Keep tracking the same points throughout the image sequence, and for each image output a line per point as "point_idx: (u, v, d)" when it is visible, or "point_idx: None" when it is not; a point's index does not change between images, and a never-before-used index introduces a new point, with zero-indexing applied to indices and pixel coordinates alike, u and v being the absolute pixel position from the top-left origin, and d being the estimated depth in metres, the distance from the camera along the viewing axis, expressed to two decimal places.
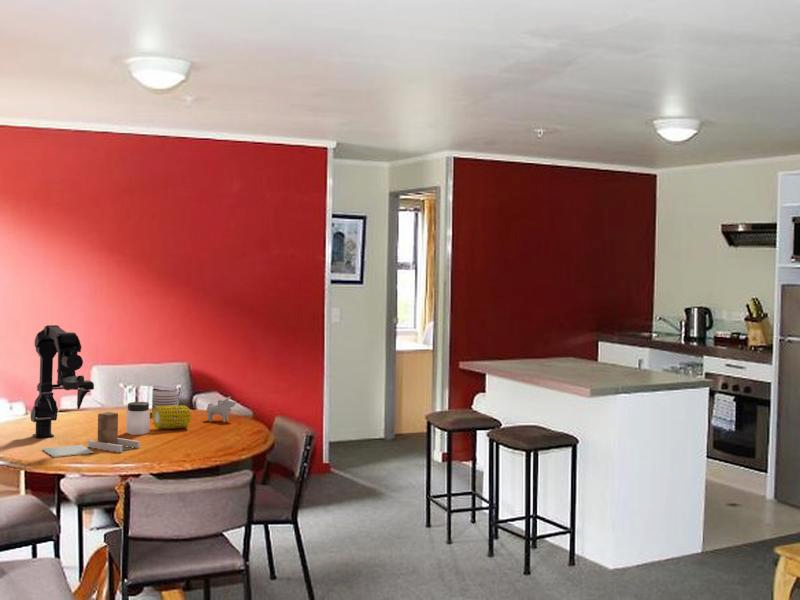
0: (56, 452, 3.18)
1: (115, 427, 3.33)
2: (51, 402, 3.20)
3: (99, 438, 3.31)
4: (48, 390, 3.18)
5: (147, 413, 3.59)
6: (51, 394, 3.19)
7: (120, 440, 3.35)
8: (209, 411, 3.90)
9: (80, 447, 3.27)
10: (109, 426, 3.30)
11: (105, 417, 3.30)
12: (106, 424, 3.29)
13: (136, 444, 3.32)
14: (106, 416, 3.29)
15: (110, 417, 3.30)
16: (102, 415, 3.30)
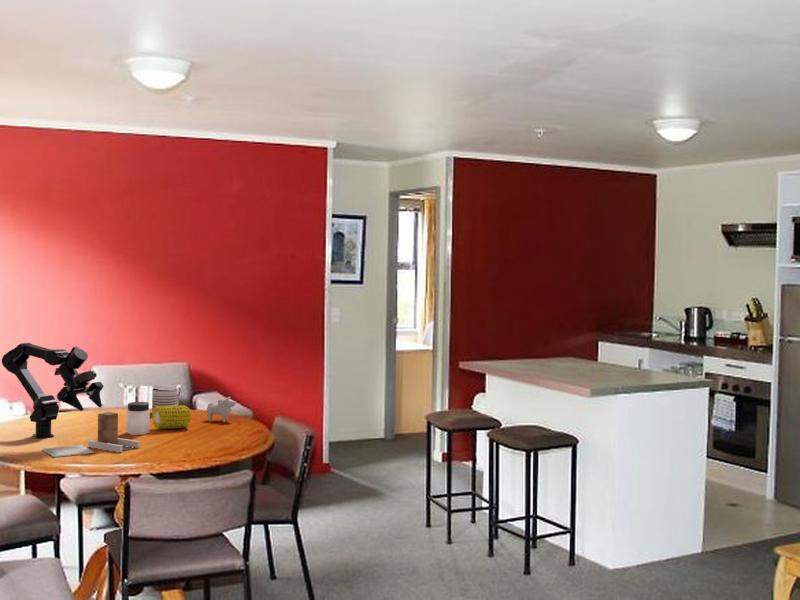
0: (56, 452, 3.18)
1: (115, 427, 3.33)
2: (78, 401, 3.32)
3: (99, 438, 3.31)
4: (71, 389, 3.31)
5: (147, 413, 3.59)
6: (75, 392, 3.32)
7: (120, 440, 3.35)
8: (209, 411, 3.90)
9: (80, 447, 3.27)
10: (109, 426, 3.30)
11: (105, 417, 3.30)
12: (106, 424, 3.29)
13: (136, 444, 3.32)
14: (106, 416, 3.29)
15: (110, 417, 3.30)
16: (102, 415, 3.30)
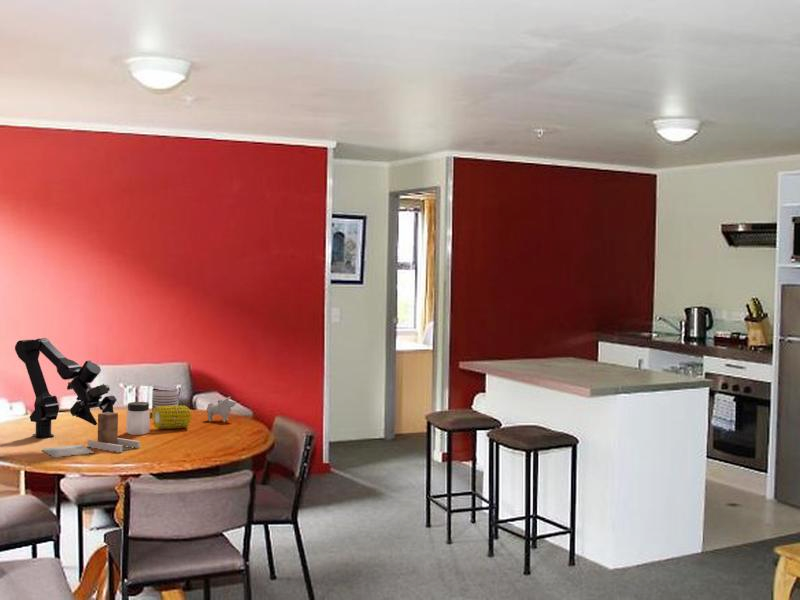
0: (56, 452, 3.18)
1: (115, 427, 3.33)
2: (91, 416, 3.29)
3: (99, 438, 3.31)
4: (84, 403, 3.28)
5: (147, 413, 3.59)
6: (88, 407, 3.29)
7: (120, 440, 3.35)
8: (209, 411, 3.90)
9: (80, 447, 3.27)
10: (109, 426, 3.30)
11: (105, 417, 3.30)
12: (106, 424, 3.29)
13: (136, 444, 3.32)
14: (106, 416, 3.29)
15: (110, 417, 3.30)
16: (102, 415, 3.30)
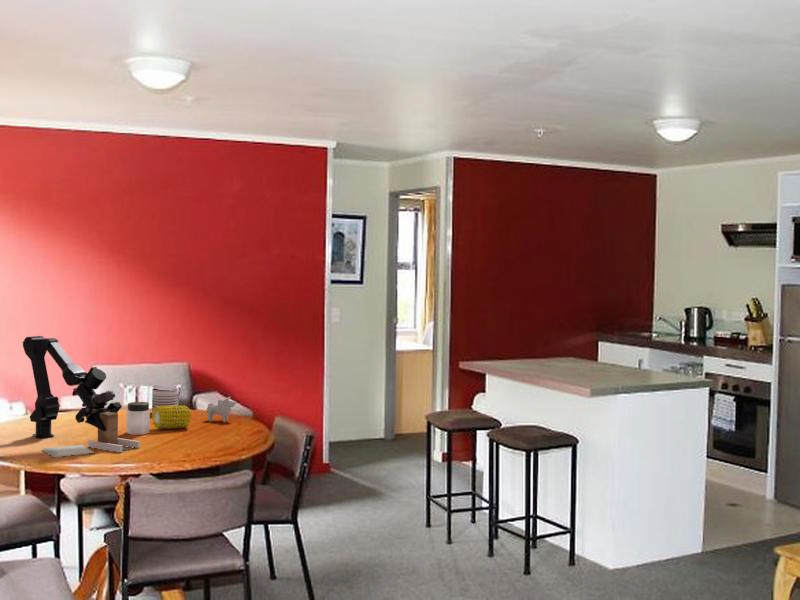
0: (56, 452, 3.18)
1: (115, 427, 3.33)
2: (101, 422, 3.29)
3: (99, 438, 3.31)
4: (90, 410, 3.27)
5: (147, 413, 3.59)
6: (97, 413, 3.29)
7: (120, 440, 3.35)
8: (209, 411, 3.90)
9: (80, 447, 3.27)
10: (109, 425, 3.30)
11: (105, 417, 3.30)
12: (106, 424, 3.29)
13: (136, 444, 3.32)
14: (106, 416, 3.29)
15: (110, 417, 3.30)
16: (102, 415, 3.30)
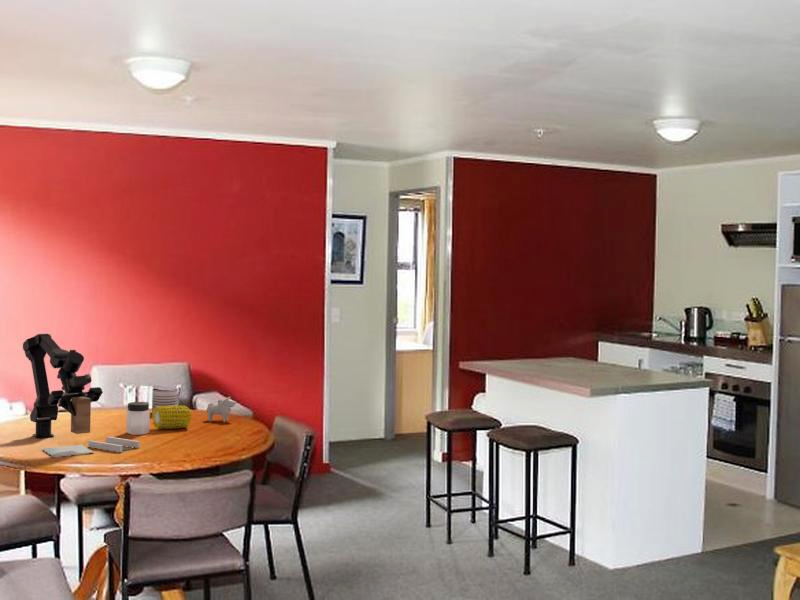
0: (56, 452, 3.18)
1: (87, 412, 3.23)
2: (71, 406, 3.22)
3: (72, 423, 3.24)
4: (59, 393, 3.20)
5: (147, 413, 3.59)
6: (69, 397, 3.22)
7: (120, 440, 3.35)
8: (209, 411, 3.90)
9: (80, 447, 3.27)
10: (78, 410, 3.21)
11: (75, 401, 3.21)
12: (76, 409, 3.21)
13: (136, 444, 3.32)
14: (76, 400, 3.21)
15: (80, 402, 3.21)
16: (74, 399, 3.22)
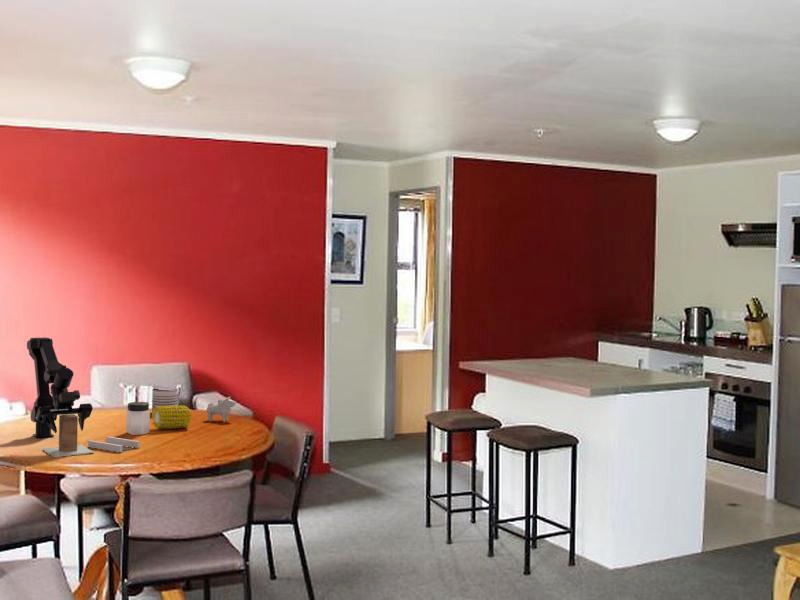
0: (56, 452, 3.18)
1: (74, 430, 3.21)
2: (53, 423, 3.19)
3: (59, 440, 3.22)
4: (47, 409, 3.19)
5: (147, 413, 3.59)
6: (51, 413, 3.19)
7: (120, 440, 3.35)
8: (209, 411, 3.90)
9: (80, 447, 3.27)
10: (64, 428, 3.19)
11: (62, 419, 3.19)
12: (62, 427, 3.19)
13: (136, 444, 3.32)
14: (62, 418, 3.19)
15: (66, 420, 3.19)
16: (61, 417, 3.20)
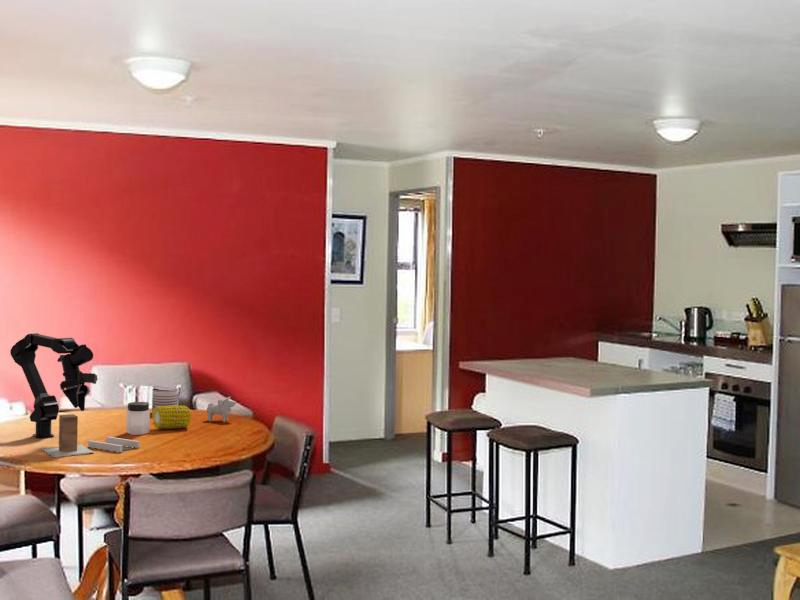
0: (56, 452, 3.18)
1: (74, 430, 3.21)
2: (77, 398, 3.31)
3: (59, 440, 3.22)
4: (78, 383, 3.31)
5: (147, 413, 3.59)
6: (79, 388, 3.32)
7: (120, 440, 3.35)
8: (209, 411, 3.90)
9: (80, 447, 3.27)
10: (64, 428, 3.19)
11: (62, 419, 3.19)
12: (62, 427, 3.19)
13: (136, 444, 3.32)
14: (62, 418, 3.19)
15: (66, 420, 3.19)
16: (61, 417, 3.20)
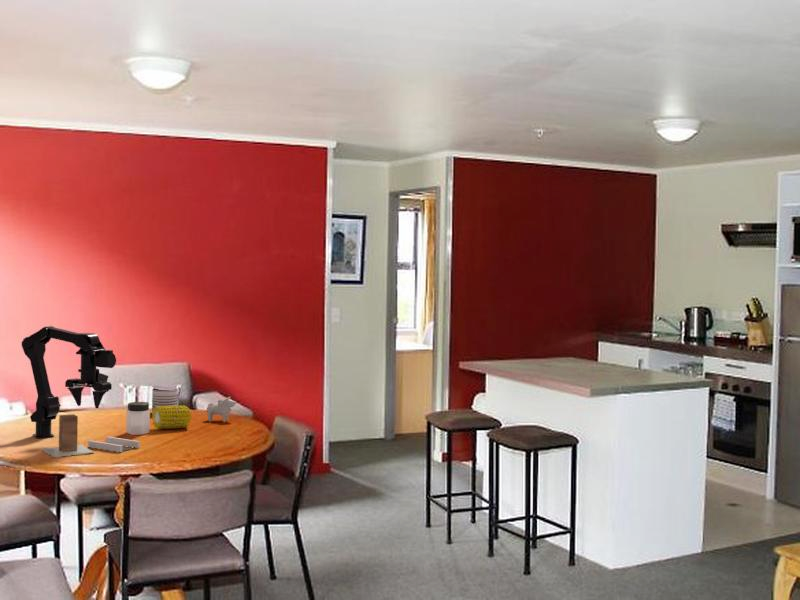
0: (56, 452, 3.18)
1: (74, 430, 3.21)
2: None
3: (59, 440, 3.22)
4: None
5: (147, 413, 3.59)
6: None
7: (120, 440, 3.35)
8: (209, 411, 3.90)
9: (80, 447, 3.27)
10: (64, 428, 3.19)
11: (62, 419, 3.19)
12: (62, 427, 3.19)
13: (136, 444, 3.32)
14: (62, 418, 3.19)
15: (66, 420, 3.19)
16: (61, 417, 3.20)
